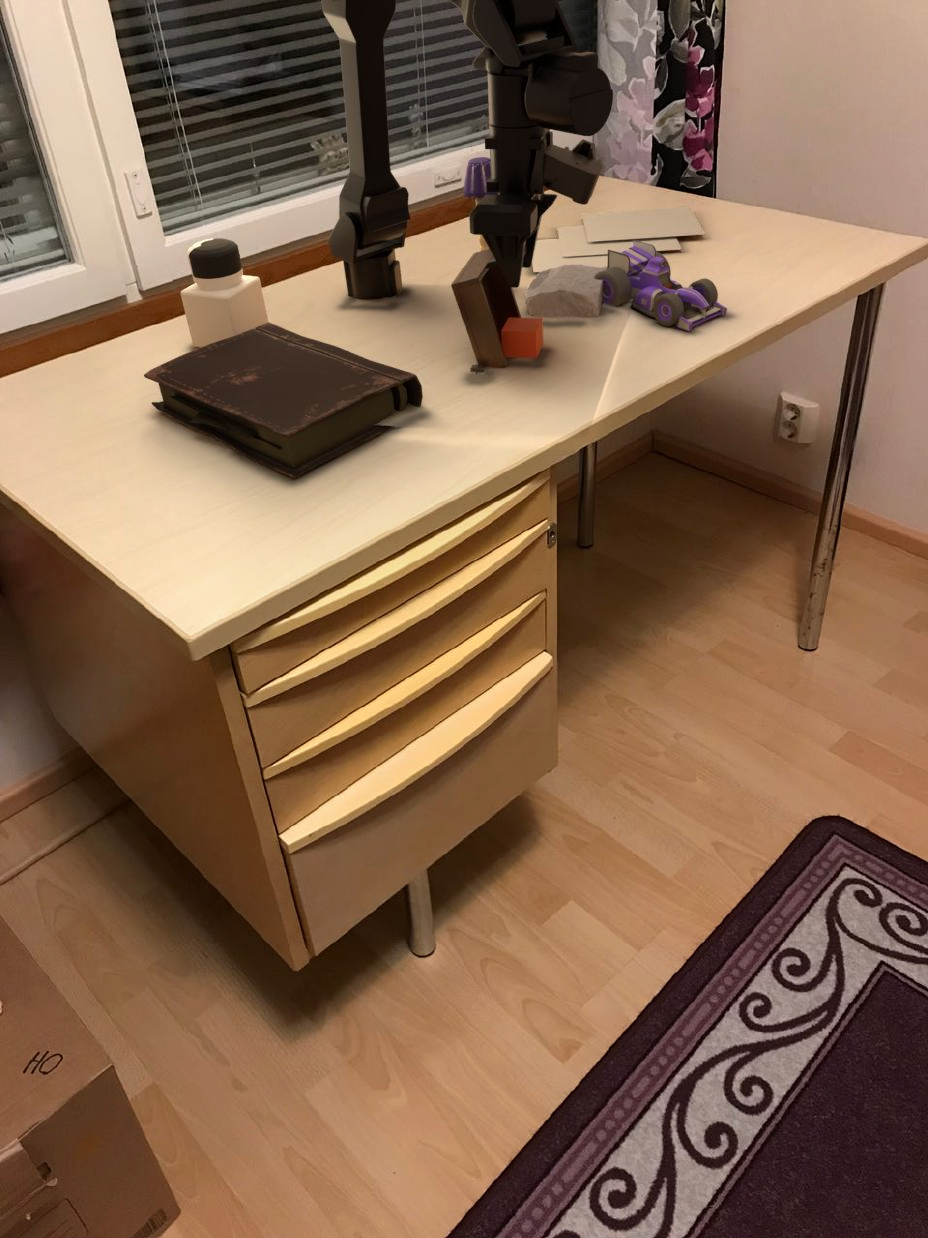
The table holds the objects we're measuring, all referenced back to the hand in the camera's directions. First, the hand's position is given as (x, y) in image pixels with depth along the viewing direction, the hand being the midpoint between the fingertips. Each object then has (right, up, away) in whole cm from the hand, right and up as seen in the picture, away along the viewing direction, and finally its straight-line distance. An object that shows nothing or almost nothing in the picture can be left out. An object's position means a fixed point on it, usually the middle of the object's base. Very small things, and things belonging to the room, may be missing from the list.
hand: (520, 276), depth 110 cm
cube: (0, -4, +3) cm, 5 cm away
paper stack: (+16, +18, +36) cm, 43 cm away
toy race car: (+18, +1, +15) cm, 23 cm away
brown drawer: (-5, -3, +4) cm, 7 cm away
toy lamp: (-3, +5, +23) cm, 24 cm away
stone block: (+7, +2, +17) cm, 19 cm away
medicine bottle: (-36, -3, +16) cm, 39 cm away
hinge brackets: (-3, -7, +7) cm, 10 cm away
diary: (-26, -16, -1) cm, 30 cm away
